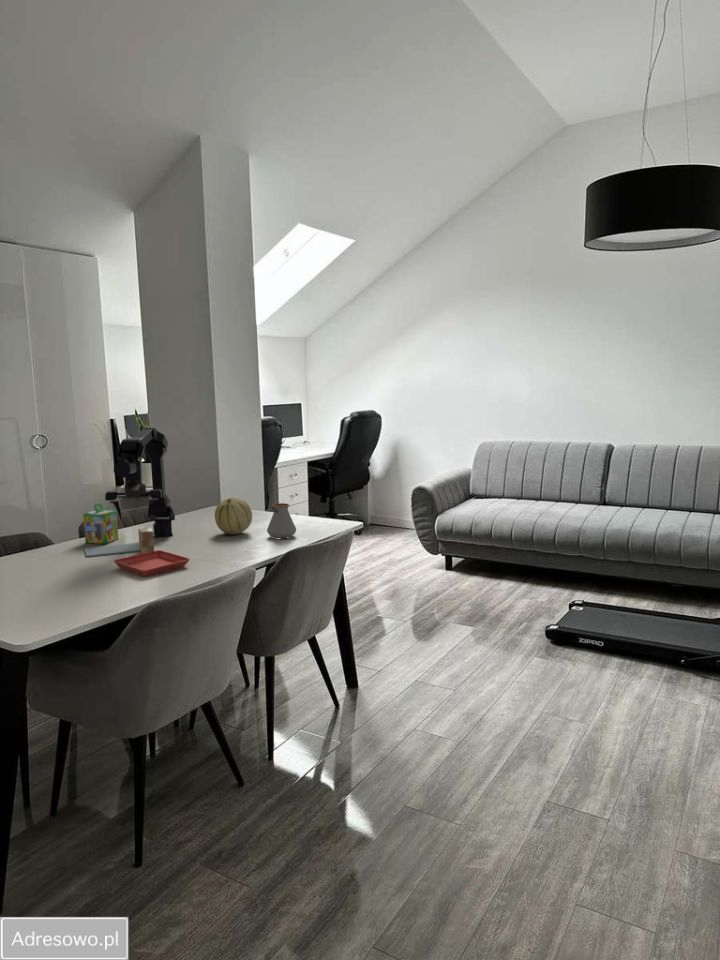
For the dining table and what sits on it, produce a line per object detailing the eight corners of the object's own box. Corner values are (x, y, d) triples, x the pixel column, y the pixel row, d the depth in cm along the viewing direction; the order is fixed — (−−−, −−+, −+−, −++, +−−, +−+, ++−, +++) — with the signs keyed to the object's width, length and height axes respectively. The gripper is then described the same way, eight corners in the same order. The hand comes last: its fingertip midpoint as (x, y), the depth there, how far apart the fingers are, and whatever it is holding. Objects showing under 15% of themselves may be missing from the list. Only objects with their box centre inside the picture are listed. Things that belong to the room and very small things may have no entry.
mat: (141, 543, 268) (140, 542, 268) (145, 551, 257) (145, 549, 257) (84, 549, 260) (84, 548, 260) (86, 557, 249) (86, 555, 249)
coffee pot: (270, 533, 284) (269, 496, 282) (299, 533, 283) (298, 496, 280) (257, 546, 263) (256, 506, 261) (288, 547, 262) (287, 507, 259)
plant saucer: (191, 567, 236) (191, 558, 236) (144, 580, 223) (143, 569, 222) (159, 558, 248) (159, 549, 247) (112, 570, 234) (112, 560, 234)
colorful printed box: (106, 544, 267) (104, 506, 265) (84, 543, 269) (81, 505, 267) (119, 539, 276) (117, 501, 274) (98, 538, 278) (95, 501, 276)
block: (151, 550, 258) (149, 526, 257) (154, 555, 251) (153, 530, 250) (139, 551, 257) (138, 527, 255) (142, 556, 249) (141, 531, 248)
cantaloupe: (254, 529, 291) (253, 493, 289) (250, 537, 277) (249, 499, 274) (218, 530, 291) (217, 493, 288) (212, 538, 276) (210, 500, 274)
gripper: (102, 478, 239) (104, 523, 241) (160, 476, 244) (162, 521, 245) (105, 474, 250) (107, 518, 251) (160, 473, 254) (162, 516, 256)
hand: (134, 518), depth 251 cm, fingers open, 9 cm apart
